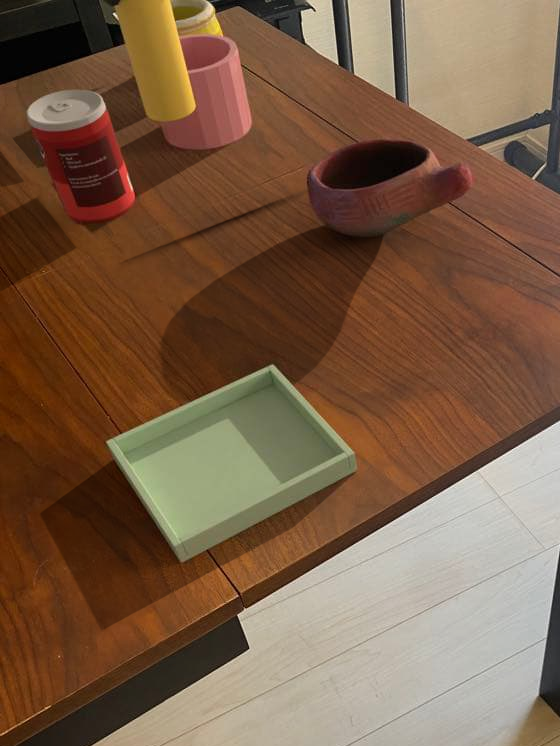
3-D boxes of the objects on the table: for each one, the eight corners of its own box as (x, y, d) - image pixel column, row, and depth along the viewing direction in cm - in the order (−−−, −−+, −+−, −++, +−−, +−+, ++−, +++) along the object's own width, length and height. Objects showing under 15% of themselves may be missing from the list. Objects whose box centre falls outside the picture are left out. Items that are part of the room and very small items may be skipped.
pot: (188, 163, 97) (166, 82, 90) (151, 130, 103) (128, 51, 96) (268, 134, 101) (253, 54, 94) (228, 103, 106) (211, 25, 99)
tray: (181, 563, 61) (173, 546, 59) (113, 458, 68) (105, 441, 66) (357, 470, 66) (354, 452, 64) (277, 381, 73) (272, 363, 71)
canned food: (96, 184, 96) (59, 84, 87) (152, 197, 93) (120, 95, 85) (51, 219, 92) (8, 117, 83) (108, 233, 89) (70, 129, 80)
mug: (249, 71, 112) (229, -33, 102) (183, 102, 107) (156, -4, 98) (191, 48, 118) (167, -52, 108) (126, 76, 113) (96, -26, 104)
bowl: (312, 265, 83) (299, 189, 77) (315, 197, 91) (303, 123, 85) (473, 253, 83) (474, 175, 77) (462, 185, 91) (462, 110, 85)
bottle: (158, 126, 66) (97, -87, 55) (138, 109, 68) (75, -101, 57) (204, 110, 67) (153, -102, 56) (182, 93, 69) (129, -114, 58)
